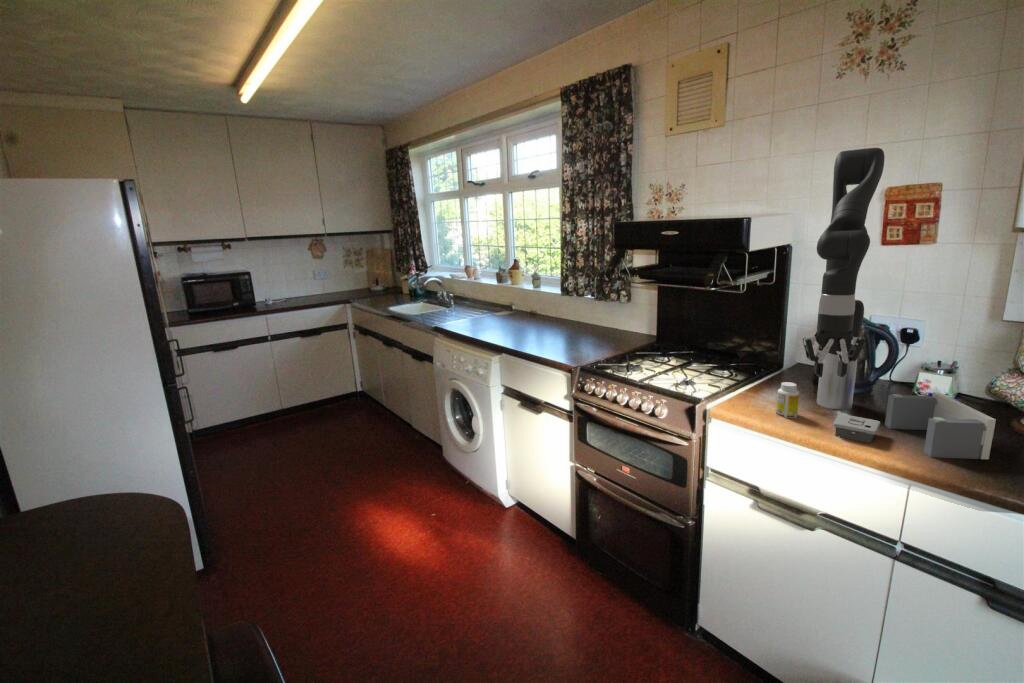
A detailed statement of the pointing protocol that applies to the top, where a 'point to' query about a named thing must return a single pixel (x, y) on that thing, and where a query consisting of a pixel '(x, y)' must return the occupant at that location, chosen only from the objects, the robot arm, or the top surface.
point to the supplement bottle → (787, 400)
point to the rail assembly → (943, 425)
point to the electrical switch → (856, 427)
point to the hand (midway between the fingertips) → (829, 375)
